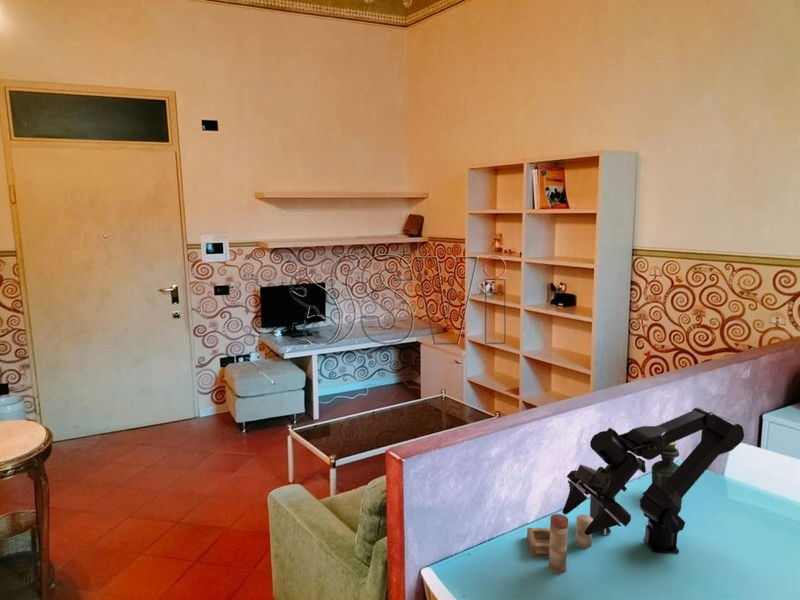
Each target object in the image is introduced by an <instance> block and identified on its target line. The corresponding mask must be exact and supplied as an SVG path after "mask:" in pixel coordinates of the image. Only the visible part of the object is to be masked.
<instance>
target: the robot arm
mask: <svg viewBox="0 0 800 600" xmlns="http://www.w3.org/2000/svg"><path fill="white" fill-rule="evenodd" d="M697 432H701V435H700V436H701V437H700V438H701V439H700V441H699V443H698V444H697V445H696V446H695V448H693V450H692V451H691V452H690V453H689V454H688V456H687V457H686V458H685V459H684V460H683V462H682V463H680V465H678V466H679V467H678V468H677V469H676V471H675V472H674V473H673V474H672V475H671V476H670V478H669V479H668V480H667V481H666V482H665V483H664V484H661V485H657V484H655V483H652V482H651V484H649V486H648V488H647V489H646V490H645V491H643V492H642V496H641V498H640V500H639V502H640V504H639V506H640V510H641V512H642V513H643V516H644V517H646V518H647V524H645V530H644V531H645V533H644V540H645V542H646V544H647V546H649V548H650V550H651V552H653V553H672V554H673V553H674V554H677V553H680V549H679V548H678V546H677V543H678V534H679V532H680V531H683V530H684V528H685V525H686V521H685V520H684V519H683V518H682V517H681V516H680V515H679V513H680V512H681V510H682V504H683V503H682V502H683V497H684V496H685V495H686V494H687V492H688V491H690V489H691V488H692V487H693V486H694V485H695V484H696V483H697V481H698V480H699V479H700V478H701V476H703V474H704V473H705V472H706V471H707V470H708V468H709V467H710V466H711V464H712V463H713V462H714V461H715V460H716V459H717V457H719V456H720V455H722V454H723V455H724V454H727V453H729V452H732V451H733V450H734V449H735V448H736V447H738V446H739V445H740V444H741V443H742V442H743V440H744V438H745V432H744V427H743V425H741V424H740V423H737V422H735V421H733V420H730V419H728V418H725V417H724V416H720V415H716V414H715V412H713V411H711V410H708V409H705V408H703V407H700V406H699V407H694V408H693V409H692V410H691V411H689V412H686V413H684V414H681V415H680V416H678V417H675V418H672V419H670V420H668V421H665V422H663V423H661V424H658V425H652V426H650V425H644V426H639V427H634V428H632V429H630V430H629V431H628V432H624V433H620V434H618V432H617V431H616V430H615V429H613V428H611V427H608V429H606V430H603V431H599V432H597V433H595V434H594V435H593V436H592V438H591V440H590V446H589V447H590V448H591V450H593V452H594V453H595V454H596V455H598V457H599V458H600V459H601V460H603V462H605V464H607V465H606V466H605V467H603V466H599V467H598V468H597V469H594V468H592V467H589V466H586V465H584V464H579V465H578V468H577V470H575V469H574V470H571V471H570V472H569V473H568V474H567V476H566V478H568V480H567V483H568V485H569V491H568V495H567V499H566V502H565V504H564V506H563V508H562V515H564V516H567V515H568V514H569V513H571V512H572V511H573V510H575V509H576V508H577V507H579V506H580V505H581V504H582V503H584V502H585V501H586V500H588V497H587V495H590V496H593V497H594V498H595V499H596V500H598V501H599V502H600V503H601V504H602V505H603V507H604V508H606V509H605V510H604V509H603V508H602V507H601V506H599V510H598V514H597V516H596V517H595V518H594V519H593V521H592V522H591V523H590V525H589V526H588V527H587V529H586V530H585V532H584V533H585V534H586V535H587V536H588V535H591V534H592V535H593V534H596V533H599V531H601V530H603V529H606V528H610V529H611V528H612V527H616V526H617V527H621V526H622V525H623V526H624V527H625V528H626V527H627V526H628V525H629V523H630V522H631V519H632V514H630V513H629V512H628V511H627V510H626V509H625V508H624V507H623V506H622V505H621V504H620V503H619V502H618V501H616V499H615V500H614V499H613V498H614V497H615V498H616V496H617V495H618V494H619V493H620V492H621V491H623V492H627V490H628V488H627V487H626V486H625V485H627V483H629V481H630V480H631V479H632V477H633V476H634V475H636V473H637V472H638V471H640V472H641V473H643V474H645V473H646V472H647V469H646V468H647V467H646V461H645V460H647V461H650V460H654V459H655V458H657V457H659V456H661V455H660V454H661V453H663V452H664V451H665V449H666V447H667V445H669V444H671V443H673V442H677V441H680V440H682V439H683V438H687V437H688V436H690V435H693V434H695V433H697ZM640 457H641V458H640ZM642 458H643V459H645V460H643V459H642ZM595 492H596V493H595ZM601 496H603V497H604V498H603V499H602V498H600V497H601ZM621 524H622V525H621Z"/></svg>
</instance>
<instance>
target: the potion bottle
mask: <svg viewBox="0 0 800 600" xmlns="http://www.w3.org/2000/svg"><path fill="white" fill-rule="evenodd" d="M676 445H677V441H675V442H673V443H671V444H669V445H667V447H666V449H665V451H664V452H663V453H661V454H660V455H659V456H660V458H661V460H658V461H655V462H654V463H653V464H652V466H651V484H652V483H655V484H657V485H661V484H664V483H665V482H666V481H667V480H668V479H669V478H670V476H671V475H672V474H673V473H674V472H675V471H676V469H677V468H678V467H679V466H680V465H678V464H676V463H675V462H674V460H675V458H678V457H679V456H680V452H679V449H678V448H676Z"/></svg>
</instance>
